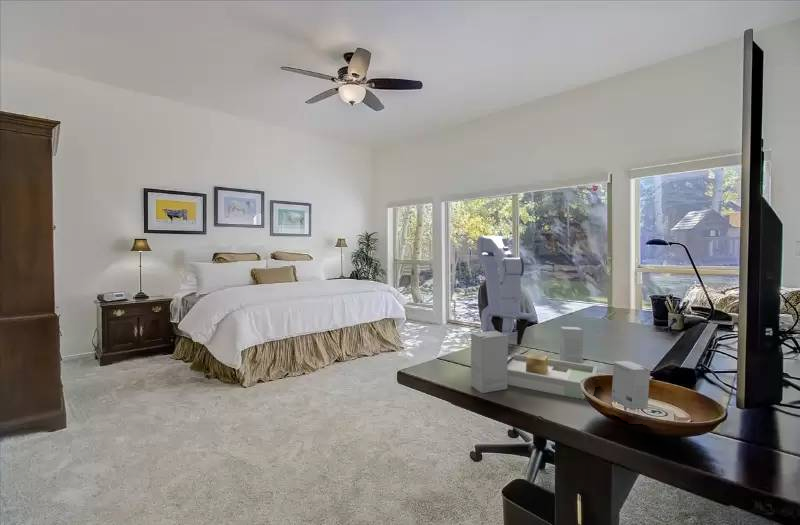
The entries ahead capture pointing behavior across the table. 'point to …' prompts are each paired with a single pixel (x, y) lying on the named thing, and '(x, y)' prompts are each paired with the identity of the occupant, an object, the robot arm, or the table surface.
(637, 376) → the skincare box
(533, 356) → the ochre block
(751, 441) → the table surface
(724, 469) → the table surface
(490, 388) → the skincare box
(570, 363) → the trap box
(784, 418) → the table surface
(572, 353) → the skincare box
